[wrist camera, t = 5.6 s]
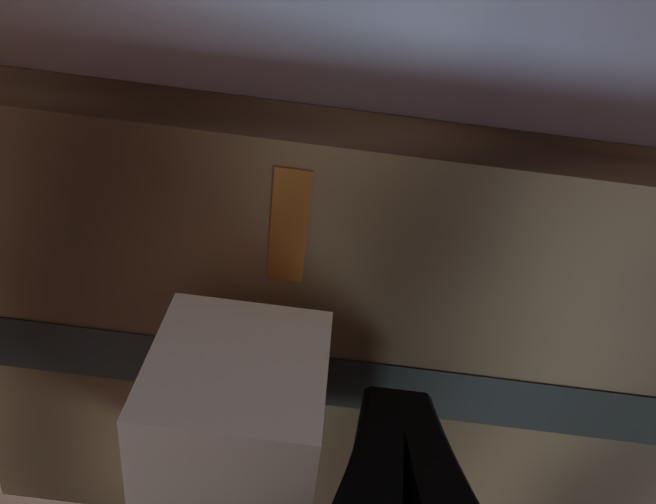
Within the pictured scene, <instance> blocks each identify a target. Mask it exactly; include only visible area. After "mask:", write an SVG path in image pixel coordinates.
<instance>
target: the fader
mask: <svg viewBox="0 0 656 504" xmlns="http://www.w3.org/2000/svg"><path fill="white" fill-rule="evenodd" d="M332 319H333V312H329V311H320V310H312V309H304V308H296V307H288V306H280V305H272V304H264V303H256V302H247V301H239V300H231V299H223V298H215V297H207V296H199V295H191V294H183V293H175V295H174V297H173V299H172V301H171V303H170V306H169V308H168V310H167V312H166V314H165V317H164V319H163V321H162V323H161V325H160V328H159V330H158V332H157V334H156V336H155V339H154V341H153V343H152V345H151V347H150V350H149V352H148V354H147V356H146V358H145V361H144V363H143V365H142V367H141V369H140V372H139V374H138V376H137V378H136V380H135V383H134V385H133V387H132V389H131V391H130V394H129V396H128V398H127V400H126V402H125V405H124V407H123V409H122V411H121V413H120V416H119V418H118V420H117V429H118V438H119V448H120V457H121V467H122V476H123V485H124V495H125V504H313V499H314V492H315V486H316V479H317V473H318V466H319V459H320V453H321V446H322V434H323V423H324V411H325V400H326V388H327V377H328V365H329V354H330V342H331V331H332Z"/></svg>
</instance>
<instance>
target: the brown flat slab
mask: <svg viewBox="0 0 656 504" xmlns="http://www.w3.org/2000/svg"><path fill="white" fill-rule="evenodd" d="M175 293H183V294H191V295H199V296H207V297H215V298H223V299H231V300H239V301H247V302H256V303H264V304H272V305H280V306H288V307H296V308H304V309H312V310H320V311H329V312H333V319H332V331H331V342H330V354H329V365H328V377H327V388H326V400H325V411H324V423H323V434H322V446H321V453H320V459H319V466H318V473H317V479H316V486H315V492H314V499H313V504H332V502H333V499H334V497H335V495H336V492H337V490H338V487H339V485H340V483H341V480H342V478H343V476H344V473H345V471H346V468H347V465H348V462H349V459H350V456H351V453H352V450H353V445H354V440H355V435H356V430H357V425H358V419H359V414H360V409H361V404H362V399H363V394H364V389H366V388H368V387H369V386H376V387H384V388H392V389H400V390H409V391H417V392H425V393H427V394H428V395H429V396H430V397H431V399H432V402H433V405H434V408H435V410H436V413H437V415H438V418H439V420H440V423H441V425H442V428H443V430H444V432H445V435H446V437H447V439H448V441H449V444H450V446H451V448H452V450H453V452H454V454H455V457H456V459H457V461H458V463H459V465H460V467H461V469H462V471H463V473H464V475H465V477H466V478H467V480H468V482H469V484H470V486H471V488H472V490H473V492H474V494H475V496H476V498H477V499H478V501H479V503H480V504H656V148H652V147H644V146H636V145H628V144H620V143H612V142H604V141H596V140H588V139H580V138H573V137H565V136H557V135H549V134H541V133H533V132H525V131H517V130H509V129H501V128H493V127H485V126H477V125H469V124H461V123H453V122H445V121H437V120H429V119H421V118H413V117H405V116H397V115H389V114H381V113H373V112H366V111H358V110H350V109H342V108H334V107H326V106H318V105H310V104H302V103H294V102H286V101H278V100H270V99H262V98H254V97H246V96H238V95H230V94H222V93H214V92H206V91H198V90H190V89H182V88H174V87H166V86H159V85H151V84H143V83H135V82H127V81H119V80H111V79H103V78H95V77H87V76H79V75H71V74H63V73H55V72H47V71H39V70H31V69H23V68H15V67H7V66H0V484H1V488H2V492H3V494H9V495H17V496H26V497H34V498H42V499H50V500H59V501H67V502H75V503H84V504H125V495H124V485H123V476H122V467H121V457H120V448H119V438H118V429H117V420H118V418H119V416H120V413H121V411H122V409H123V407H124V405H125V402H126V400H127V398H128V396H129V394H130V391H131V389H132V387H133V385H134V383H135V380H136V378H137V376H138V374H139V372H140V369H141V367H142V365H143V363H144V361H145V358H146V356H147V354H148V352H149V350H150V347H151V345H152V343H153V341H154V339H155V336H156V334H157V332H158V330H159V328H160V325H161V323H162V321H163V319H164V317H165V314H166V312H167V310H168V308H169V306H170V303H171V301H172V299H173V297H174V295H175Z"/></svg>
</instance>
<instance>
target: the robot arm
mask: <svg viewBox="0 0 656 504" xmlns="http://www.w3.org/2000/svg"><path fill="white" fill-rule="evenodd" d="M332 504H480V503H479V501H478V499H477V498H476V496H475V494H474V492H473V490H472V488H471V486H470V484H469V482H468V480H467V478H466V477H465V475H464V473H463V471H462V469H461V467H460V465H459V463H458V461H457V459H456V457H455V454H454V452H453V450H452V448H451V446H450V444H449V441H448V439H447V437H446V435H445V432H444V430H443V428H442V425H441V423H440V420H439V418H438V415H437V413H436V410H435V408H434V405H433V402H432V399H431V397H430V396H429V395H428V394H427V393H425V392H417V391H409V390H400V389H392V388H384V387H376V386H369V387H368V388H366V389H364V394H363V399H362V404H361V409H360V414H359V419H358V425H357V430H356V435H355V440H354V445H353V450H352V453H351V456H350V459H349V462H348V465H347V468H346V471H345V473H344V476H343V478H342V480H341V483H340V485H339V487H338V490H337V492H336V495H335V497H334V499H333V502H332Z"/></svg>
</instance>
